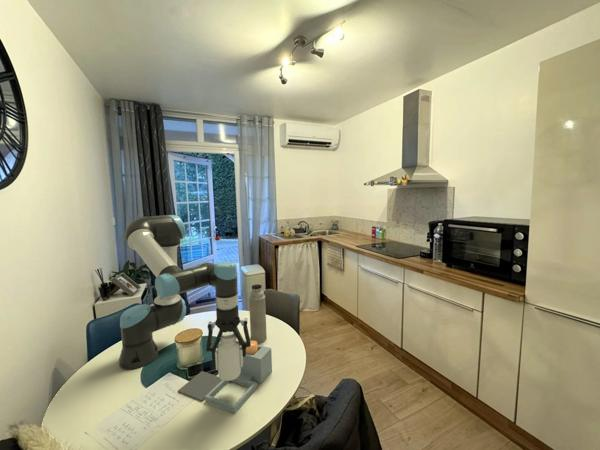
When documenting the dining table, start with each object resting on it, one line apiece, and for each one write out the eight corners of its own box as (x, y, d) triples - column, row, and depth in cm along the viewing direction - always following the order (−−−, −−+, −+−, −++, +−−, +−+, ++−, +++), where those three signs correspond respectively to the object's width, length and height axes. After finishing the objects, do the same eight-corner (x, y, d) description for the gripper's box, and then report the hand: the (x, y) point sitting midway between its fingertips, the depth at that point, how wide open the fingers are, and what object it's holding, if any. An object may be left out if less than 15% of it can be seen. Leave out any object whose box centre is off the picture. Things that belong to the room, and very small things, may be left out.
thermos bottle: (258, 333, 139) (256, 282, 136) (269, 337, 135) (268, 284, 132) (247, 340, 132) (245, 286, 129) (259, 344, 128) (257, 289, 125)
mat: (177, 392, 98) (177, 390, 98) (201, 372, 108) (201, 371, 108) (202, 401, 93) (201, 400, 93) (224, 380, 103) (224, 378, 103)
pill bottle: (243, 378, 93) (241, 338, 92) (219, 384, 90) (217, 343, 89) (239, 364, 101) (238, 327, 99) (217, 370, 98) (215, 332, 96)
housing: (204, 401, 93) (202, 375, 92) (244, 362, 114) (243, 341, 113) (236, 414, 87) (234, 386, 86) (272, 371, 108) (271, 348, 107)
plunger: (243, 362, 106) (242, 345, 105) (250, 355, 110) (249, 339, 110) (253, 365, 104) (252, 348, 103) (260, 358, 108) (259, 342, 108)
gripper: (193, 313, 87) (197, 376, 89) (257, 307, 91) (259, 368, 93) (198, 304, 94) (201, 363, 97) (256, 299, 98) (258, 356, 101)
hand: (229, 365), depth 95 cm, fingers closed on pill bottle, 8 cm apart
